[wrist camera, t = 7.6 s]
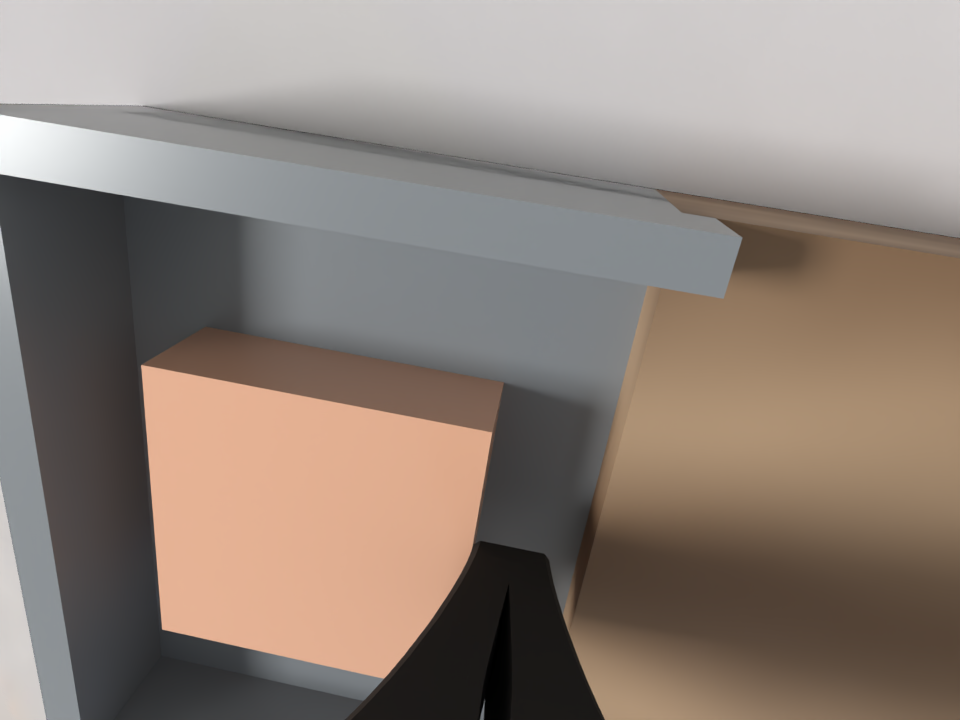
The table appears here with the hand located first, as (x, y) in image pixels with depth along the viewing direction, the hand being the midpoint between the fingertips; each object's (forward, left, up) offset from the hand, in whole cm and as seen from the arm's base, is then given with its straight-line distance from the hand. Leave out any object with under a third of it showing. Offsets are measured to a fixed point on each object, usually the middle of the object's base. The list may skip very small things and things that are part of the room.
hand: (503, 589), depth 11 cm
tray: (0, +4, -4) cm, 5 cm away
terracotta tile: (0, +4, -2) cm, 4 cm away
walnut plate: (0, -7, -4) cm, 8 cm away
